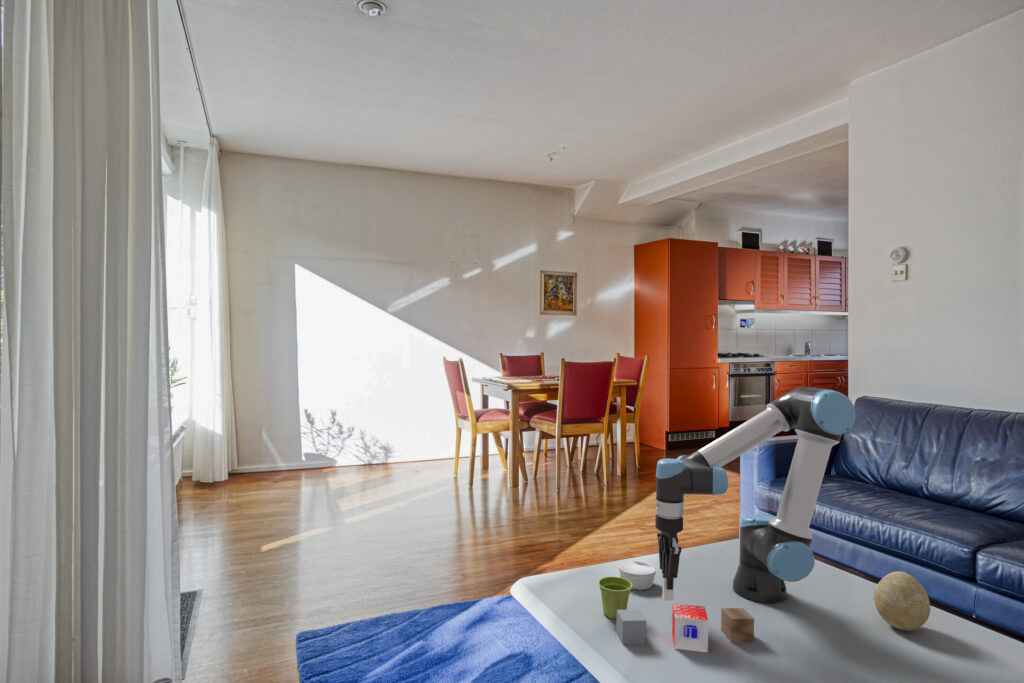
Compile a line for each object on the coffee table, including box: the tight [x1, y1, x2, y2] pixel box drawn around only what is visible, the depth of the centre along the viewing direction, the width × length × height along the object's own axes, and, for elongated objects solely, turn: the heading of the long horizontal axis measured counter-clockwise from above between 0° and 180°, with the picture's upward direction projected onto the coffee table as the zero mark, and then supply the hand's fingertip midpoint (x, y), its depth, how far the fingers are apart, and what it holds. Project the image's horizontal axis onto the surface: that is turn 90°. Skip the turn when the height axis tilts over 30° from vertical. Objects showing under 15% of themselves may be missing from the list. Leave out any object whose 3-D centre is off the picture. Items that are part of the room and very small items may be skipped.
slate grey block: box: [615, 609, 647, 645], centre depth 153 cm, size 6×6×6 cm
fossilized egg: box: [873, 570, 931, 631], centre depth 161 cm, size 13×13×15 cm
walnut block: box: [720, 607, 755, 643], centre depth 155 cm, size 6×6×6 cm
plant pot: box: [597, 576, 633, 620], centre depth 166 cm, size 9×9×9 cm
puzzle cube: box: [671, 603, 710, 653], centre depth 151 cm, size 8×8×8 cm
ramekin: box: [618, 560, 657, 591], centre depth 186 cm, size 11×11×5 cm
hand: (667, 599), depth 167 cm, fingers closed
